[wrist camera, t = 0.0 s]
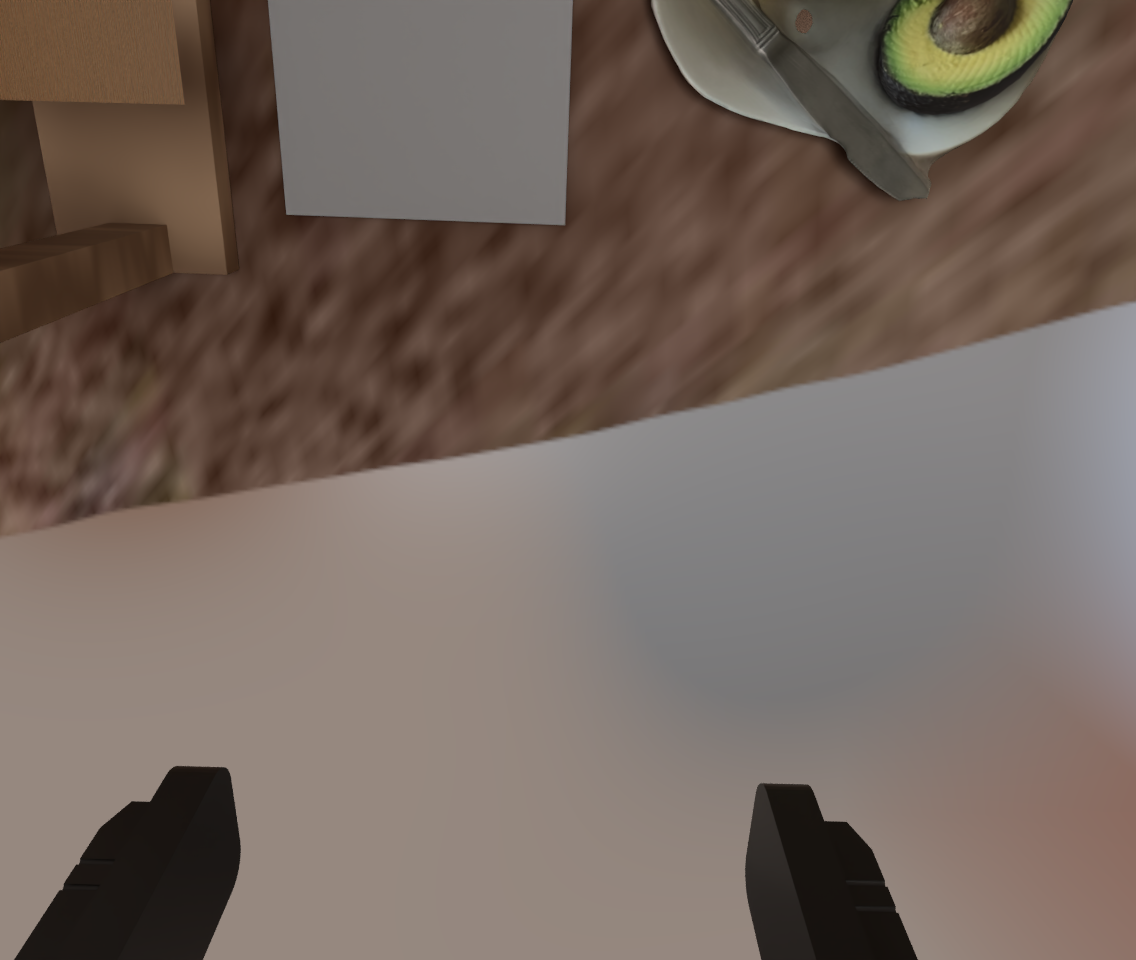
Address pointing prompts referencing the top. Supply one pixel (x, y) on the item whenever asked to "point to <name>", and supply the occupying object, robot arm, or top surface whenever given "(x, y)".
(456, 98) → the mat
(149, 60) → the link
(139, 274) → the stand
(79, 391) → the top surface
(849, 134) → the salad plate
